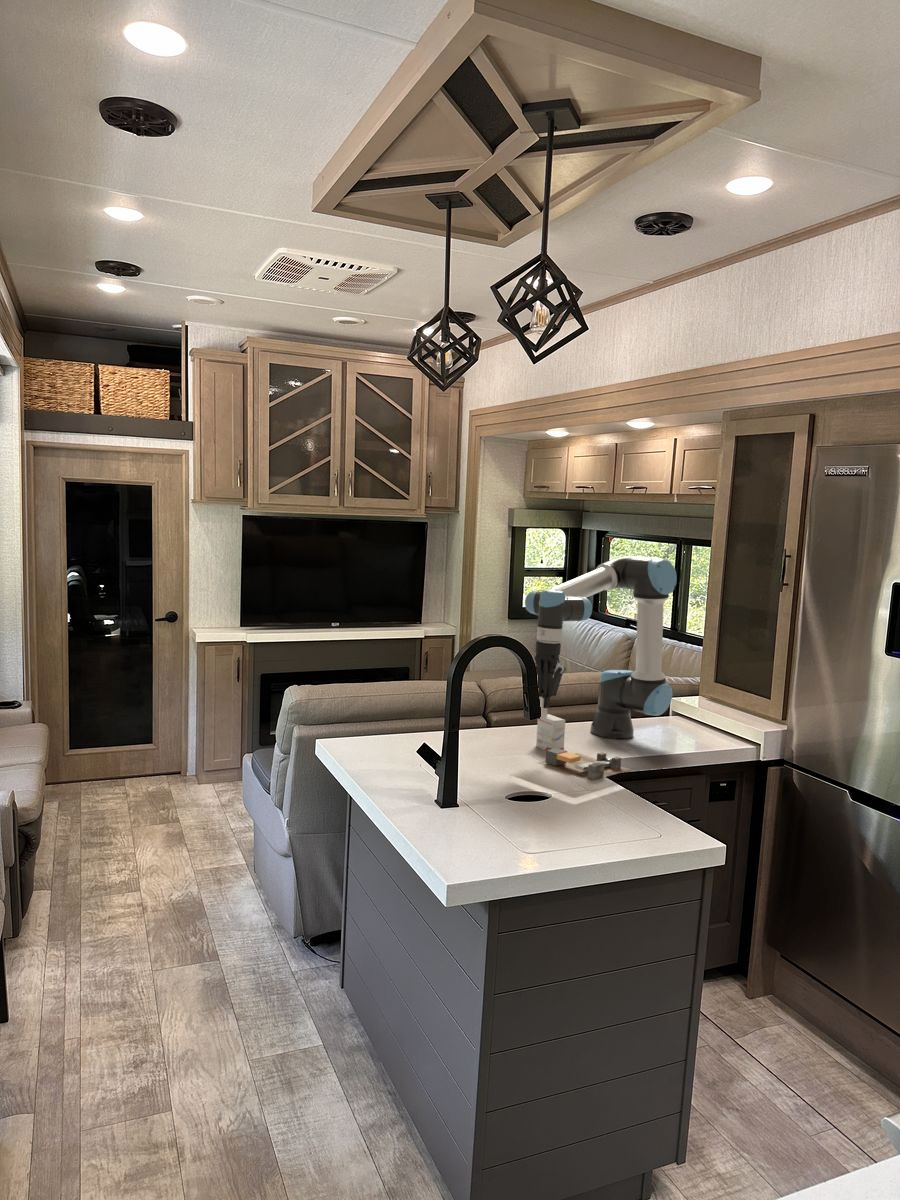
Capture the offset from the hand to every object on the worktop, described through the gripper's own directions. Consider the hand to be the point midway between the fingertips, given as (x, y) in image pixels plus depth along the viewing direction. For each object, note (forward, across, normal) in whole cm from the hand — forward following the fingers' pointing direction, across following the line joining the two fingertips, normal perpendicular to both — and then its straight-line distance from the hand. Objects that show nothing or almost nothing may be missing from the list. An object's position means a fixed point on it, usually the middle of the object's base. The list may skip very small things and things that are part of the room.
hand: (542, 717), depth 253 cm
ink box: (+15, -5, +12) cm, 20 cm away
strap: (+12, +17, +6) cm, 21 cm away
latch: (+13, +9, 0) cm, 16 cm away
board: (+14, +13, +6) cm, 20 cm away
